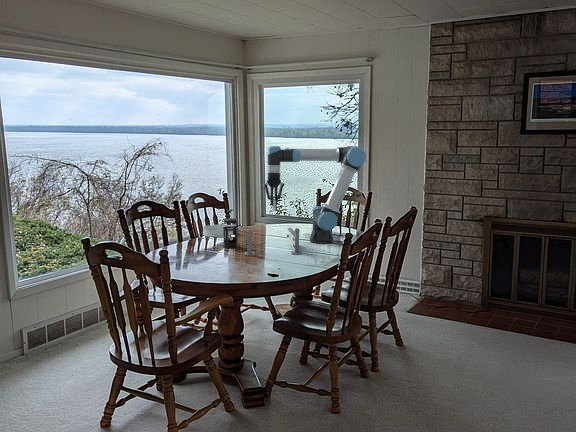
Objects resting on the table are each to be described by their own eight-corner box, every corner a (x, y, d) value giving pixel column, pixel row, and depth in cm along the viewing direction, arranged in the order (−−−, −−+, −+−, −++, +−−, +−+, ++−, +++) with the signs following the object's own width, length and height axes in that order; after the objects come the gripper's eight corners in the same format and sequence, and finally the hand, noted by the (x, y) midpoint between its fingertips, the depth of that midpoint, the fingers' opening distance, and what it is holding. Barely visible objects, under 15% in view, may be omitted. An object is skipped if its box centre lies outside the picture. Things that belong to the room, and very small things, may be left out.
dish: (241, 233, 371) (241, 226, 370) (222, 239, 352) (222, 231, 351) (216, 230, 382) (216, 223, 381) (196, 235, 363) (196, 228, 362)
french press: (233, 249, 321) (232, 211, 318) (219, 247, 325) (218, 210, 321) (242, 245, 332) (242, 208, 328) (229, 243, 336) (228, 207, 332)
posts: (301, 252, 314) (301, 227, 312) (302, 254, 308) (302, 229, 306) (244, 253, 311) (244, 227, 308) (244, 255, 305) (244, 229, 302)
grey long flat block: (298, 250, 313) (298, 235, 311) (292, 250, 312) (293, 235, 311) (291, 242, 335) (291, 227, 334) (286, 242, 335) (286, 228, 333)
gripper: (282, 171, 325) (282, 209, 329) (261, 171, 322) (261, 210, 325) (286, 172, 318) (285, 211, 322) (264, 172, 315) (264, 212, 318)
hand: (273, 210), depth 324 cm, fingers closed
